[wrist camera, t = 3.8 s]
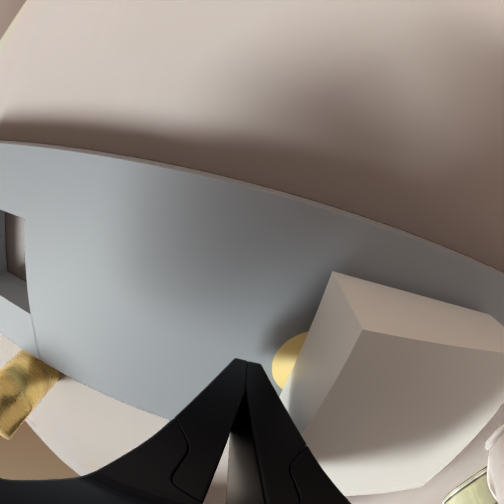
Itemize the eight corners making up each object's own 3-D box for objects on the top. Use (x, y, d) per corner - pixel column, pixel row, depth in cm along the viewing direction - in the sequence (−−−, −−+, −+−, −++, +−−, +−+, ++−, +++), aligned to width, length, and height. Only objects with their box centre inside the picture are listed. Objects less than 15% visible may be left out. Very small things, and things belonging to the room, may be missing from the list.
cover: (404, 439, 10) (420, 487, 7) (262, 429, 10) (258, 492, 7) (489, 314, 8) (534, 355, 5) (332, 271, 8) (362, 329, 5)
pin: (63, 388, 14) (16, 448, 8) (31, 369, 14) (-17, 419, 8) (55, 355, 13) (-3, 417, 7) (23, 335, 13) (-35, 386, 7)
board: (456, 421, 12) (467, 442, 10) (-11, 296, 12) (-31, 309, 10) (536, 288, 9) (557, 303, 7) (-13, 139, 9) (-39, 140, 7)
